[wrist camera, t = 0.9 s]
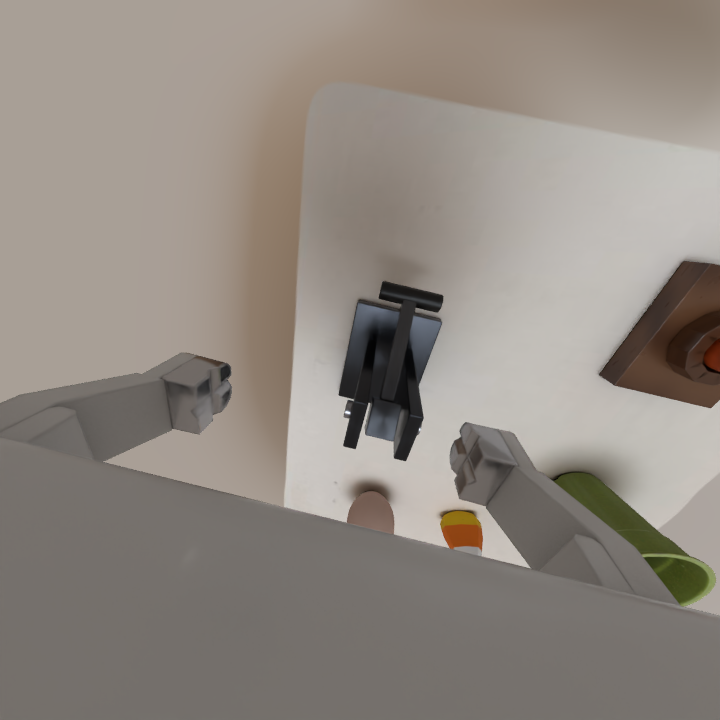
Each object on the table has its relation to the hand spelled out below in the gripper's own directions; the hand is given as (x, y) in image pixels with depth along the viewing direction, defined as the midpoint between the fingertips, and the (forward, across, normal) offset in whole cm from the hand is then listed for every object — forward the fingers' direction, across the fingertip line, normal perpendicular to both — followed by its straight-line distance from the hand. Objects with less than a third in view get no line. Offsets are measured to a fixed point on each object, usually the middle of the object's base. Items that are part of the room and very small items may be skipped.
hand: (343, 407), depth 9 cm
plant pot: (+20, -33, +20) cm, 44 cm away
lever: (+13, -3, +4) cm, 13 cm away
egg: (+20, -7, +31) cm, 38 cm away
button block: (+20, -31, -3) cm, 37 cm away
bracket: (+20, -3, +7) cm, 22 cm away
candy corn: (+20, -21, +31) cm, 43 cm away
